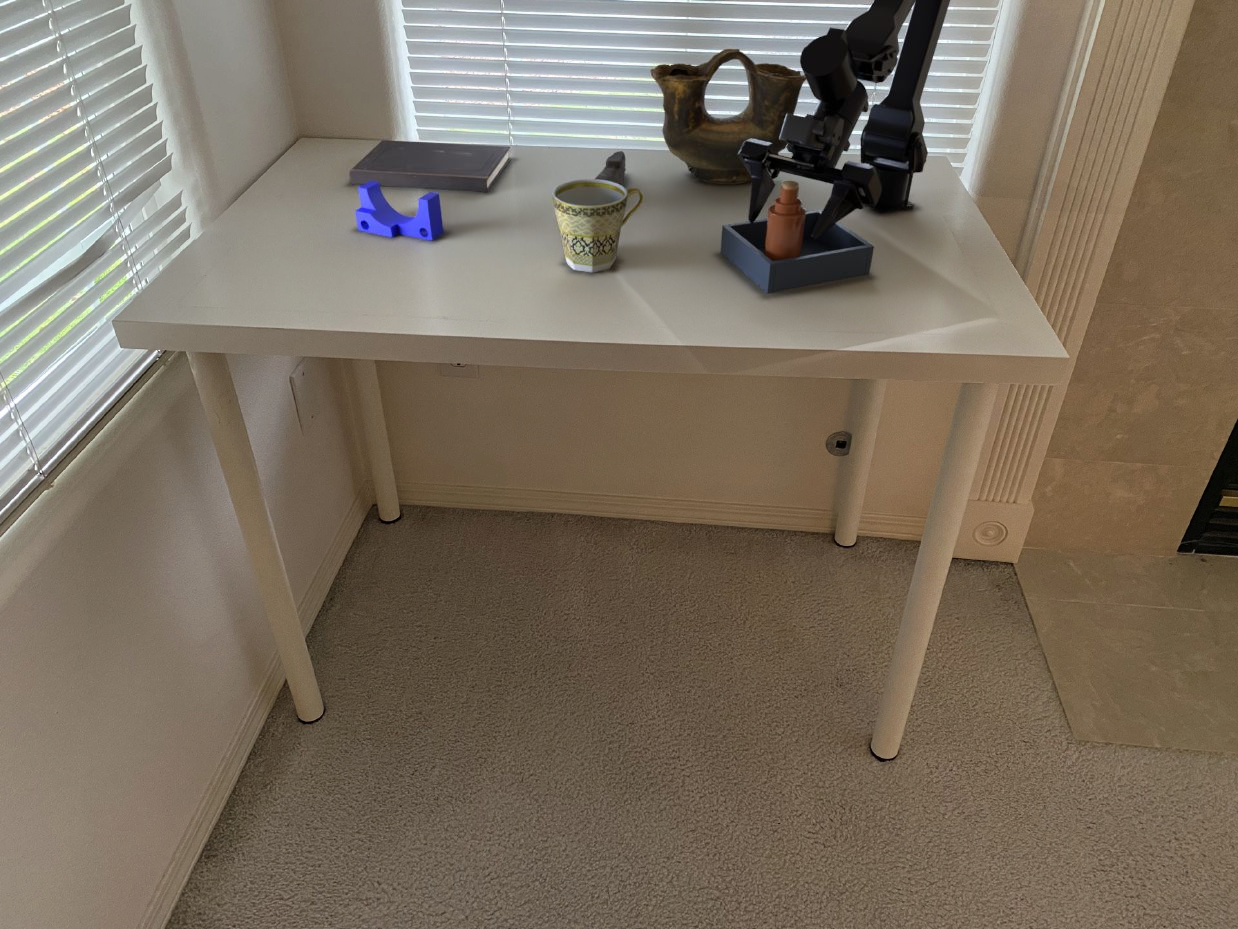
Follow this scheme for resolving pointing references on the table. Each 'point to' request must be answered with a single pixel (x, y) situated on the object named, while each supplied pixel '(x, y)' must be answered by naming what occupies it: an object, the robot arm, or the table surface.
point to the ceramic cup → (591, 221)
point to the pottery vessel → (720, 139)
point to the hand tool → (614, 168)
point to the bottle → (785, 224)
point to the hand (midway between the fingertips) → (781, 229)
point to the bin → (817, 264)
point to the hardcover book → (432, 165)
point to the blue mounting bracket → (398, 215)
